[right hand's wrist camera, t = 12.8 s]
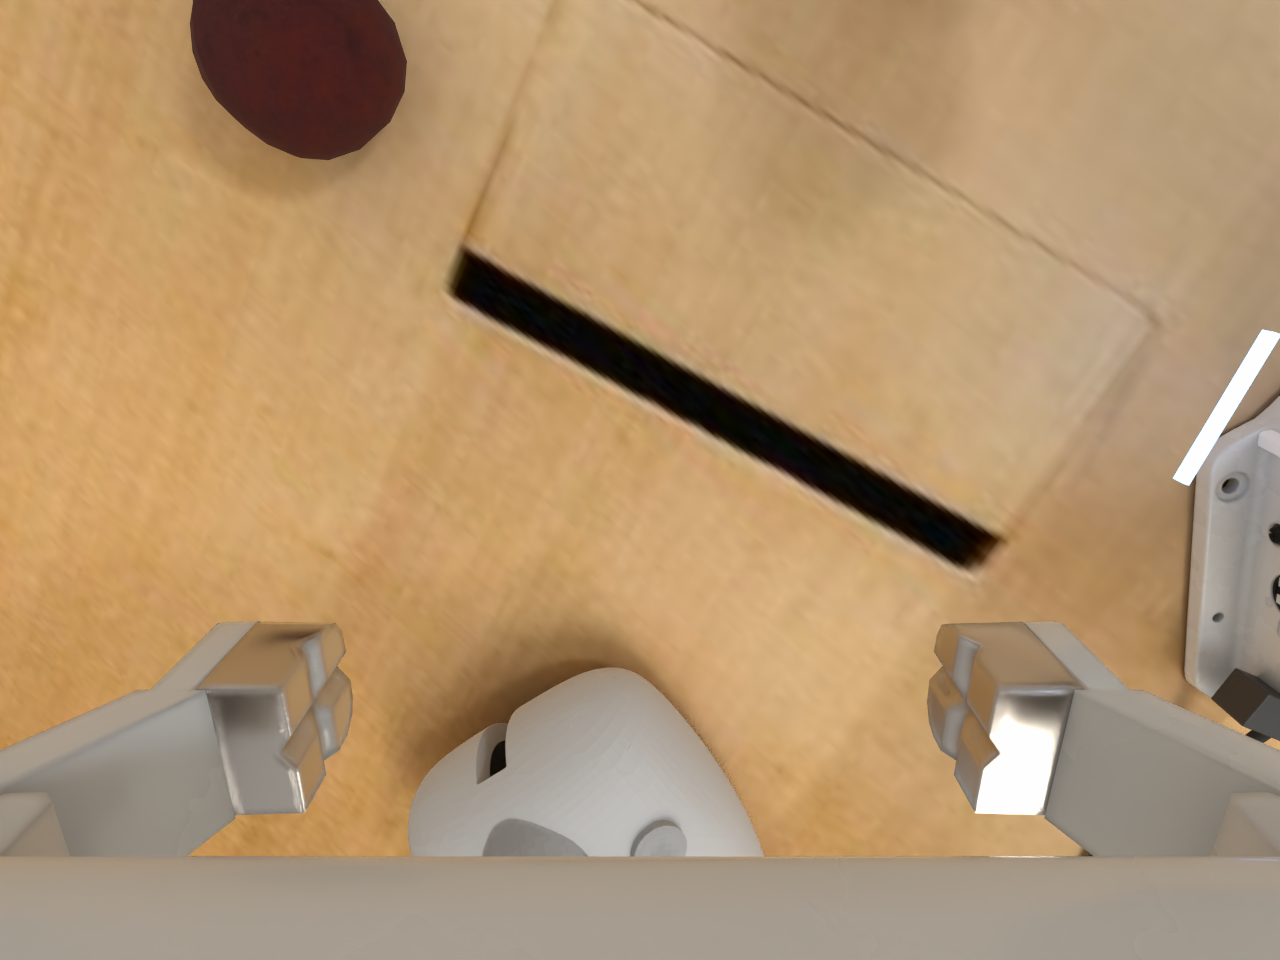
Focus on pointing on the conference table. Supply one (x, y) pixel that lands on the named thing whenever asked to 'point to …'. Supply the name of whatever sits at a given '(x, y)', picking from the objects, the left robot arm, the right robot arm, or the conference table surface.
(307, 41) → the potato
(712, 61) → the conference table surface
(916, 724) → the conference table surface
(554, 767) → the white molded housing
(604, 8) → the conference table surface
